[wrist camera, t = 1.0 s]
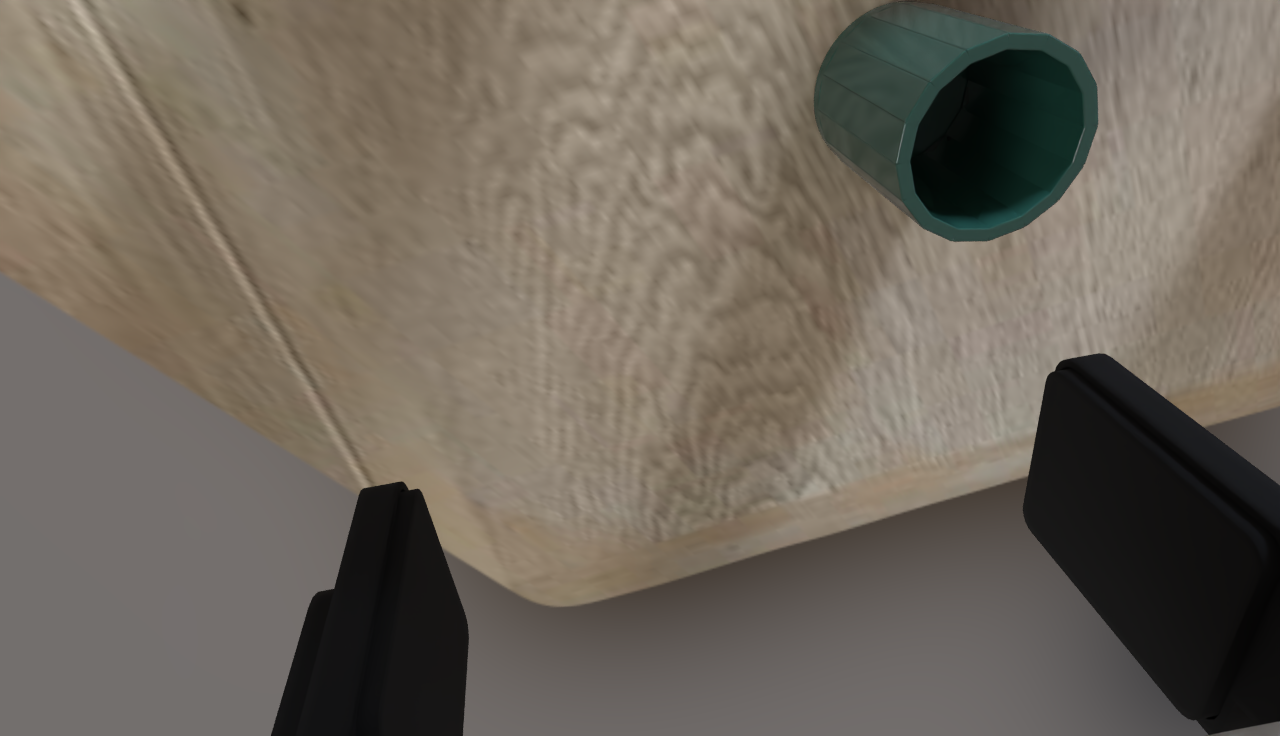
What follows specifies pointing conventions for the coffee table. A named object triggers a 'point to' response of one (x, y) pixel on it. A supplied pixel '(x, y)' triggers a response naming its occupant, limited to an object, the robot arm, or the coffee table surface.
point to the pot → (957, 116)
